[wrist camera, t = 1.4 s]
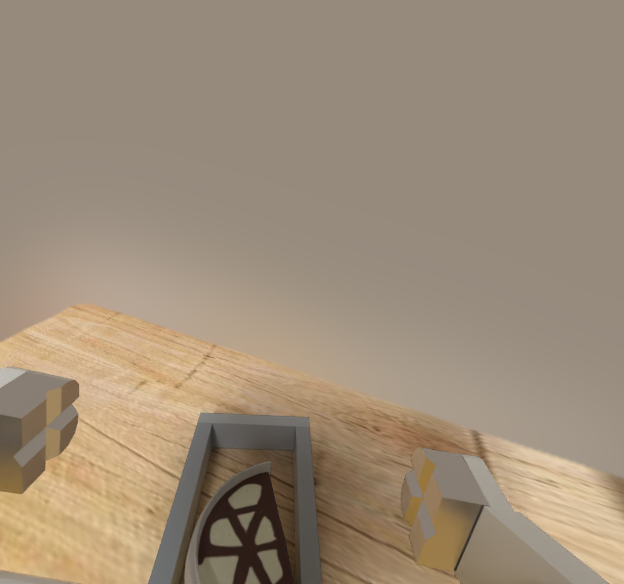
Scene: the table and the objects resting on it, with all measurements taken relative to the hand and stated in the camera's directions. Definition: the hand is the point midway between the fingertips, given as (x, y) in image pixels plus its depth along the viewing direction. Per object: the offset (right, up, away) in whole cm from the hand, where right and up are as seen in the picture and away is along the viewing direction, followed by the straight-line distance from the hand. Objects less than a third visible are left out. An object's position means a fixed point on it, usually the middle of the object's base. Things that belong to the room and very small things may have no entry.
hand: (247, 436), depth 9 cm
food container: (-4, -21, +17) cm, 27 cm away
